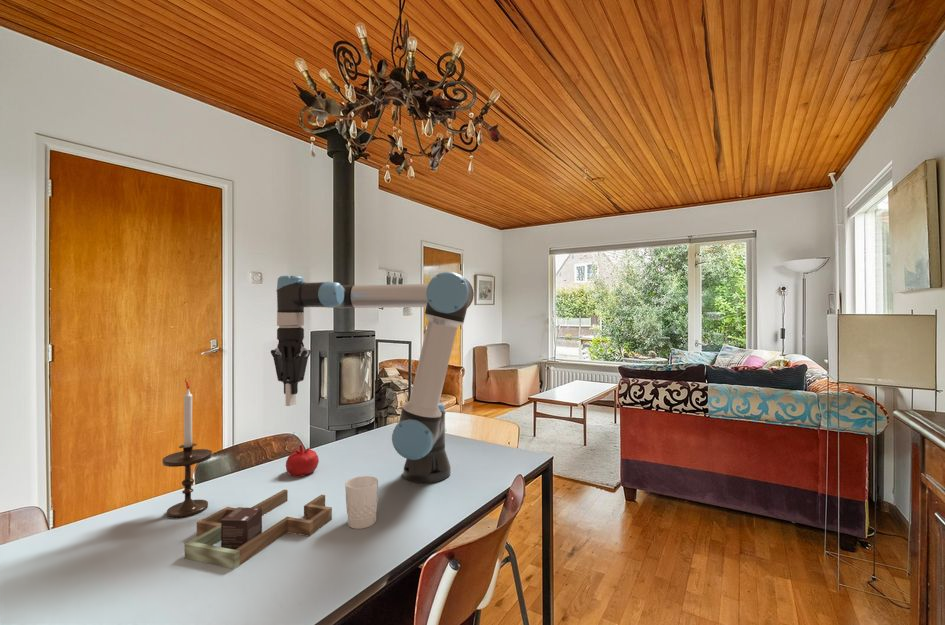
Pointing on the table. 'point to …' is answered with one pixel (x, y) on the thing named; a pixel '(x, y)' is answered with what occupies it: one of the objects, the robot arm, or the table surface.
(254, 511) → the box
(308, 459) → the pomegranate
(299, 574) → the table surface
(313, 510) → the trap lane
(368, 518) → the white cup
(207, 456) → the candlestick
